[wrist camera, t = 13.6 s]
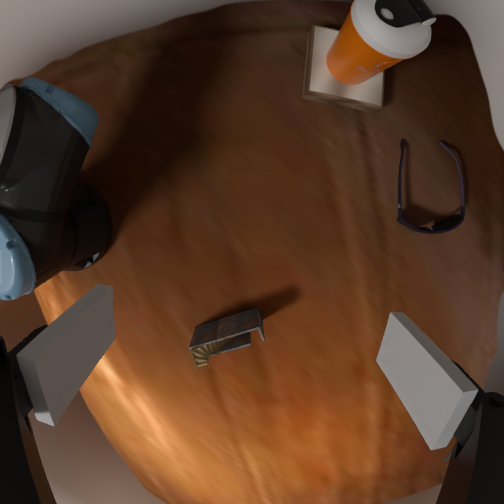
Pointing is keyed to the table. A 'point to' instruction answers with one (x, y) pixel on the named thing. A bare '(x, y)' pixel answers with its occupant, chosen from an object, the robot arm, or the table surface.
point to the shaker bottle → (378, 38)
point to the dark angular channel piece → (224, 335)
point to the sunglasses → (444, 225)
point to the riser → (327, 86)
